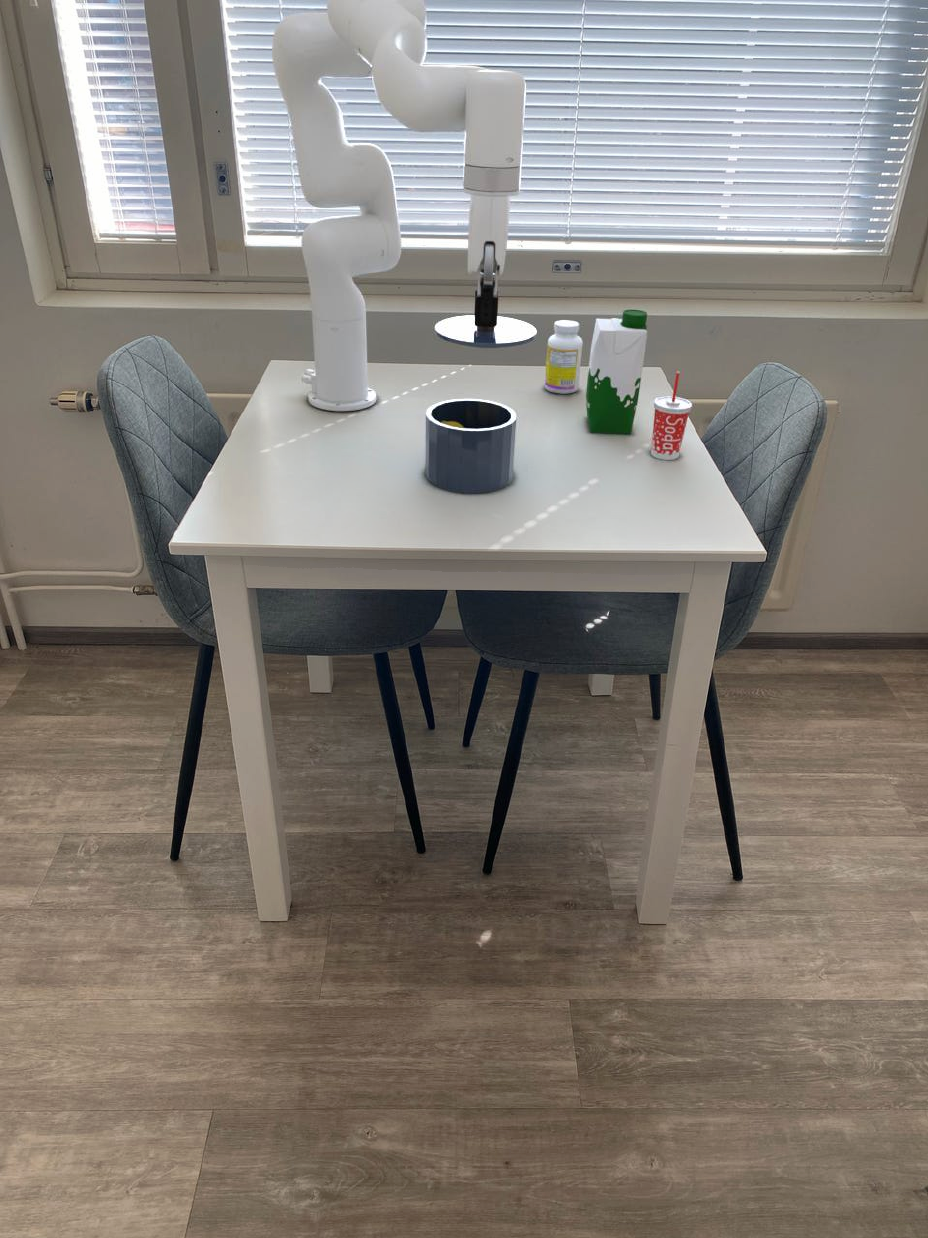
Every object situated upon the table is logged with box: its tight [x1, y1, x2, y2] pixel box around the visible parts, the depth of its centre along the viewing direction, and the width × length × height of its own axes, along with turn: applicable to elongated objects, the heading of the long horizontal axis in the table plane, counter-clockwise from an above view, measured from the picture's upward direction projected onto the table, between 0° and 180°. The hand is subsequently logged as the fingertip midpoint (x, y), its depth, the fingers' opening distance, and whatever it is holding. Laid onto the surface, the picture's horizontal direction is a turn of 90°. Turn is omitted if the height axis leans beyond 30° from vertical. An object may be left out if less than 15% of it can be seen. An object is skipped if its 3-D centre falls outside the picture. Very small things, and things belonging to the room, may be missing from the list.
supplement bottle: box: [544, 319, 583, 395], centre depth 173 cm, size 7×7×13 cm
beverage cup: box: [650, 371, 693, 461], centre depth 146 cm, size 6×6×14 cm
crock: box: [424, 398, 517, 495], centre depth 138 cm, size 14×14×10 cm
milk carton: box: [585, 309, 648, 435], centre depth 155 cm, size 9×9×20 cm
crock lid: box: [434, 314, 537, 349], centre depth 127 cm, size 15×15×6 cm
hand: (485, 321), depth 128 cm, fingers closed on crock lid, 2 cm apart
